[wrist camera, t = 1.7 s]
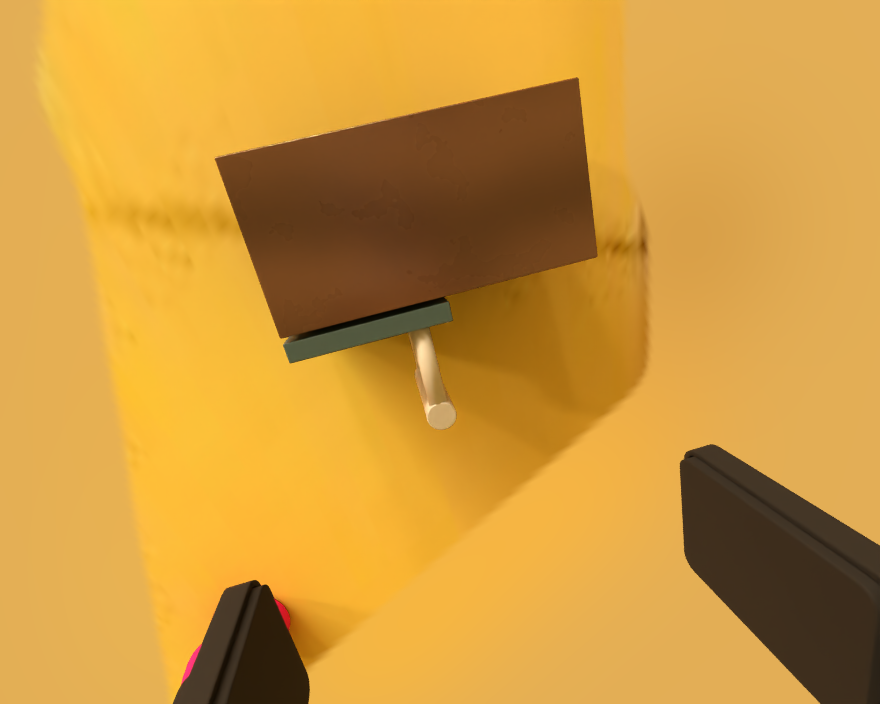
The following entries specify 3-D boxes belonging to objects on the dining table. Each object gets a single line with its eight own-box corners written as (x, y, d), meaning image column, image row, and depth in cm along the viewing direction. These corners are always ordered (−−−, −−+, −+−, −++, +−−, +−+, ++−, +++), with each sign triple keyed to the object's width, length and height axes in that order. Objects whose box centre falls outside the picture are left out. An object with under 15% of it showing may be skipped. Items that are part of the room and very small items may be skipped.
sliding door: (310, 307, 29) (282, 344, 20) (425, 278, 30) (449, 301, 21) (339, 395, 31) (326, 465, 22) (446, 366, 32) (476, 422, 23)
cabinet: (269, 182, 27) (213, 157, 17) (508, 127, 28) (578, 76, 19) (309, 303, 29) (280, 339, 20) (527, 248, 30) (598, 257, 21)
